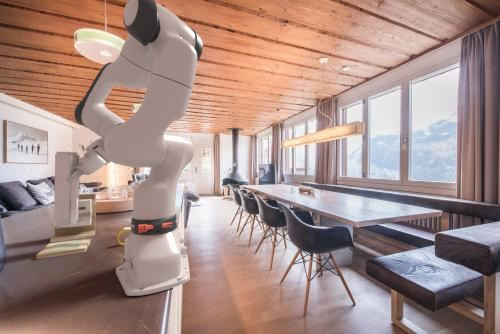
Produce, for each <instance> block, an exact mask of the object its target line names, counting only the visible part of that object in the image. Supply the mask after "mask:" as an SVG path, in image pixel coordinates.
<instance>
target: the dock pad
mask: <svg viewBox="0 0 500 334" xmlns="http://www.w3.org/2000/svg"><path fill="white" fill-rule="evenodd" d="M91 242H92V238H84V239H76V240H68V241H60V242H53V243H50V242H49V243H48V244H47V245H46V246H45V247H43V248H42V250H40V251H39V252H38V253H37V254H36V256H35V259H36V260H42V259H48V258H56V257H61V256H67V255H75V254H79V253H85V252H86V251H87V250H88V248H89V247H90V244H91Z"/></svg>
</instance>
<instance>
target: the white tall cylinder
mask: <svg viewBox="0 0 500 334" xmlns="http://www.w3.org/2000/svg"><path fill="white" fill-rule="evenodd" d="M54 155H55V156H54V193H53V194H54V197H53V198H54V200H53V201H54V204H53V206H54V208H53V226H57V227H62V226H70V225H75V224H77V223H79V194H80V177H79V178H77V179H75V180H74V181H73V182H71V183H69V182H67V181H66V180H65V179H66V178H67V177H69V176H70V175H72V174H73V173H74V172H75V171H76V170H77V169H76V166H77V165H78V164H79V163H80V158H81V157H80V156H81V154H79V153H78V152H74V151H56V153H55V154H54Z"/></svg>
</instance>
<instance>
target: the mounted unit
mask: <svg viewBox="0 0 500 334" xmlns="http://www.w3.org/2000/svg"><path fill="white" fill-rule="evenodd" d="M96 197H97V195H96V193H82V194H81V193H79V223H77V224H75V225H70V226H62V227H57V226H54V225H53V226H54V228H53V229H54V236H53V237H51V239H50V240H49V241H50V242H49V244H50V243H58V242H65V241H73V240H81V239H89V238H91V239H92V238H94V236H95V234H96V216H97V215H96V211H97V210H96V209H97V208H96V207H97V206H96V204H97V203H96V201H97V200H96Z"/></svg>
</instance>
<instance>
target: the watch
mask: <svg viewBox="0 0 500 334" xmlns="http://www.w3.org/2000/svg"><path fill="white" fill-rule="evenodd" d="M128 231H131V226H129V227H123V228H122V229H121V230H120V231H119V232H118V234H117V238H116V239H117V242H118V244H119V245H121V246H125V242H121V241H120V236H121V235H122V233H124V232H128Z"/></svg>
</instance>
